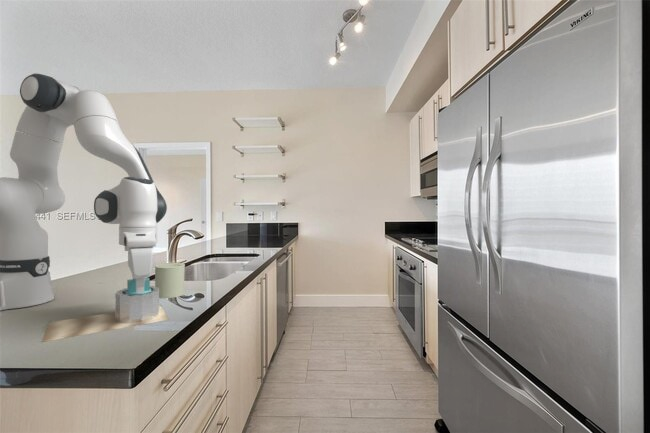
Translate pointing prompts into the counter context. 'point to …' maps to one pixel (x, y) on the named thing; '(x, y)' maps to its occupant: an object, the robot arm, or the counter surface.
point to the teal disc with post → (132, 287)
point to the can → (170, 279)
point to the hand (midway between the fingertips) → (138, 288)
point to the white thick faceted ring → (136, 306)
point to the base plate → (91, 325)
